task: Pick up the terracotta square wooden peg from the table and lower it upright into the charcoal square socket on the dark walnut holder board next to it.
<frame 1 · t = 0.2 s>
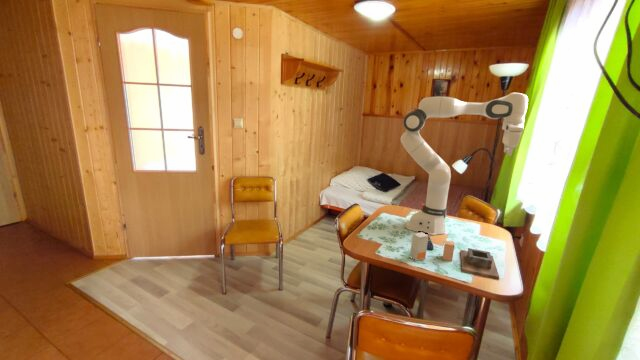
hand: (507, 154, 152), 48 cm above the table, tool pointing down, fingers open, 8 cm apart
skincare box: (417, 258, 141), on the table
socket holder: (477, 264, 137), on the table
square peg: (447, 258, 141), on the table
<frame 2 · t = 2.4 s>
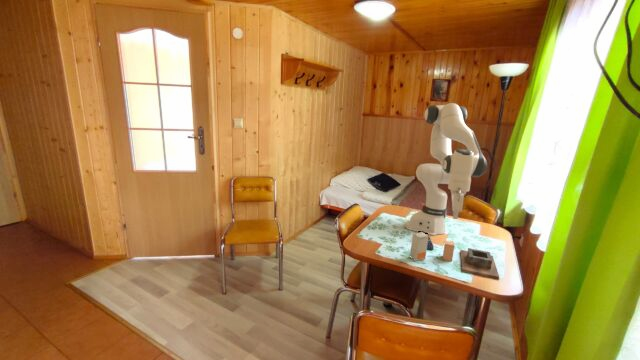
hand: (454, 215, 136), 22 cm above the table, tool pointing down, fingers open, 8 cm apart
nothing on the table moved.
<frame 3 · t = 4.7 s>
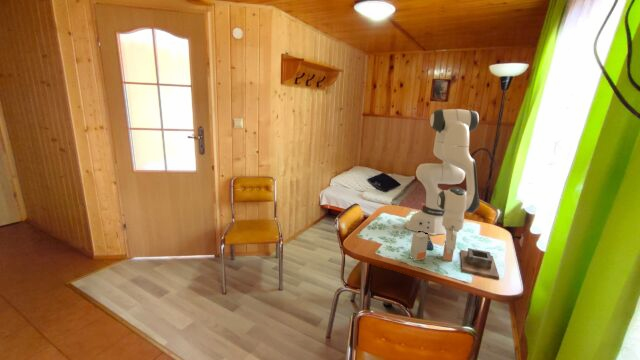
hand: (448, 250, 140), 4 cm above the table, tool pointing down, fingers closed on square peg, 4 cm apart
square peg: (447, 258, 141), on the table, touching gripper
everything else where it was.
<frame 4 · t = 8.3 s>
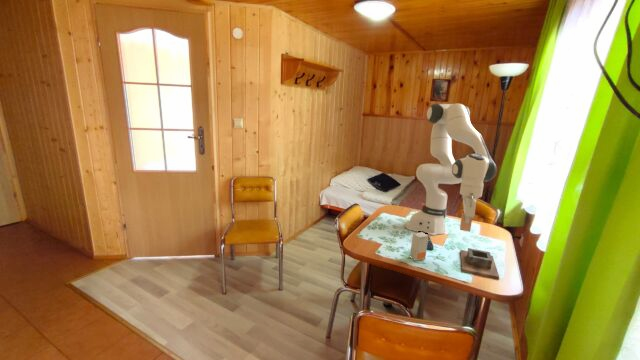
hand: (466, 220, 134), 20 cm above the table, tool pointing down, fingers closed on square peg, 4 cm apart
square peg: (464, 229, 135), point 16 cm above the table, touching gripper
everything else where it was.
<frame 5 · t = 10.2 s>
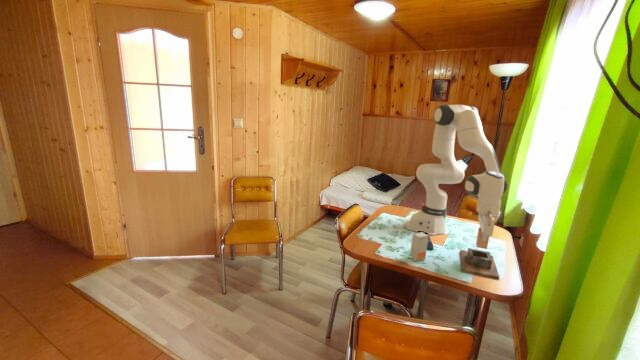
hand: (482, 237, 133), 13 cm above the table, tool pointing down, fingers closed on square peg, 4 cm apart
square peg: (481, 246, 134), point 9 cm above the table, touching gripper
everything else where it was.
when the fingers open (6 cm above the table, at t = 11.9 s): square peg drops 1 cm, resting on socket holder.
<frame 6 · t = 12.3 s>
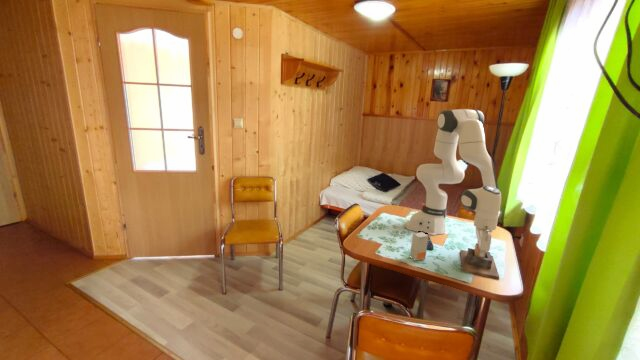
hand: (480, 251, 135), 6 cm above the table, tool pointing down, fingers open, 8 cm apart
square peg: (478, 262, 136), point 1 cm above the table, touching socket holder
everything else where it was.
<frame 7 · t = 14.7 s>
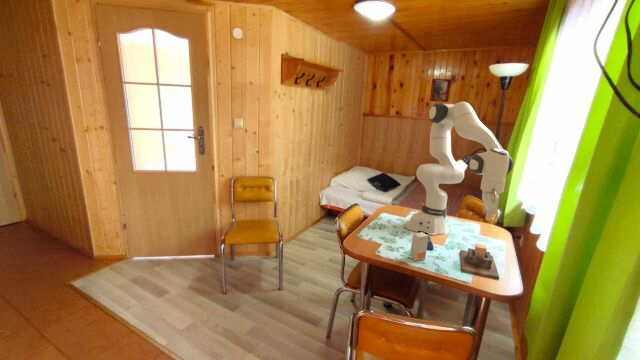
hand: (486, 216, 132), 23 cm above the table, tool pointing down, fingers open, 8 cm apart
nothing on the table moved.
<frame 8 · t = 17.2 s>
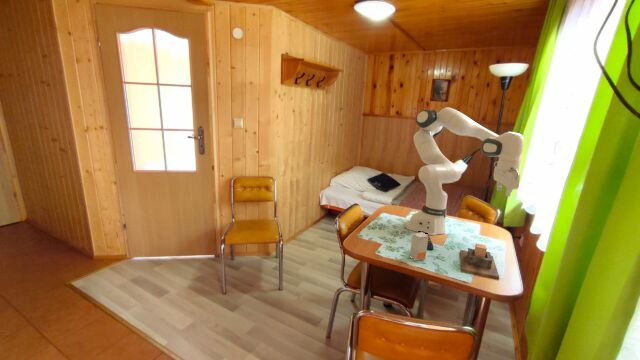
hand: (503, 193, 148), 29 cm above the table, tool pointing down, fingers open, 8 cm apart
nothing on the table moved.
at the end: square peg 0.1 cm off-centre on the socket holder, point 1.2 cm above the socket holder's base; square peg tilted 0°; the gripper is holding nothing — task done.
